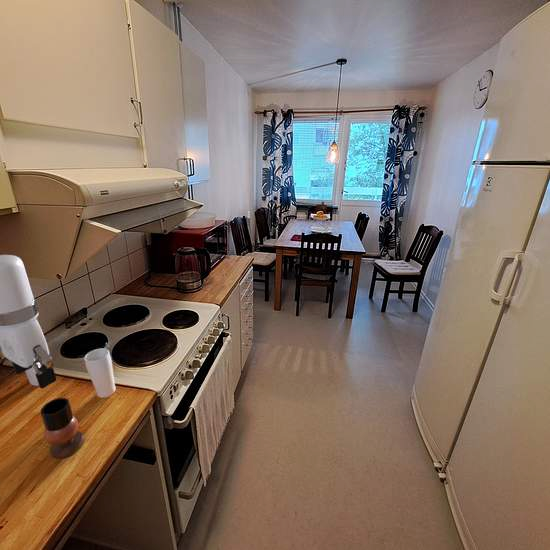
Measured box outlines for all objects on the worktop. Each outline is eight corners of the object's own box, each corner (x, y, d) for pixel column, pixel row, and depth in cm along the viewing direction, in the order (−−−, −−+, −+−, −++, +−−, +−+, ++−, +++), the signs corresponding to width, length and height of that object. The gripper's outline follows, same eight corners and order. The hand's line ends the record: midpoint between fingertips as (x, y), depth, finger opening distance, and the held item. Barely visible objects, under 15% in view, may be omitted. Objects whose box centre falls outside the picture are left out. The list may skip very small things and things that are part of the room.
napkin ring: (54, 434, 69) (49, 419, 67) (40, 425, 71) (35, 410, 69) (77, 417, 73) (73, 402, 72) (64, 409, 76) (60, 394, 74)
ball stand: (62, 464, 71) (51, 436, 67) (45, 452, 74) (33, 425, 70) (90, 440, 77) (81, 413, 73) (73, 430, 80) (64, 404, 76)
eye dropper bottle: (45, 374, 100) (35, 346, 95) (47, 383, 96) (36, 354, 92) (29, 380, 97) (18, 351, 93) (30, 389, 93) (18, 360, 89)
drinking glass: (91, 392, 93) (80, 354, 87) (114, 381, 97) (104, 345, 92) (98, 404, 88) (87, 365, 83) (121, 392, 93) (112, 354, 87)
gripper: (-29, 310, 61) (-3, 375, 67) (15, 332, 54) (39, 401, 60) (13, 297, 67) (33, 357, 73) (57, 315, 60) (75, 379, 67)
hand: (36, 377), depth 67 cm, fingers open, 9 cm apart
